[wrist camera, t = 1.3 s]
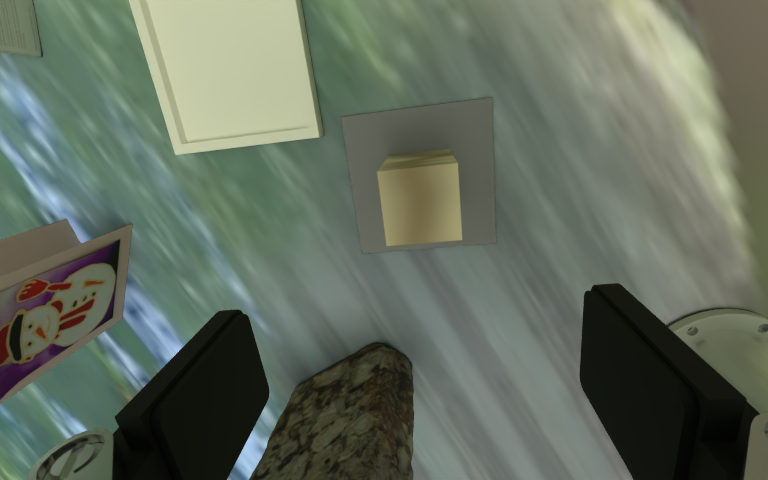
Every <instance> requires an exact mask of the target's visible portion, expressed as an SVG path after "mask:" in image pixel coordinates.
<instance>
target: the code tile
mask: <svg viewBox="0 0 768 480" xmlns="http://www.w3.org/2000/svg"><path fill="white" fill-rule="evenodd" d="M341 121H342V128H343V134H344V141H345V147H346V154H347V160H348V167H349V173H350V180H351V187H352V193H353V200H354V206H355V213H356V219H357V226H358V232H359V239H360V245H361V252H362V254H363V253H376V252H389V251H402V250H415V249H428V248H441V247H453V246H466V245H479V244H492V243H496V217H495V176H494V136H493V97H491V98H483V99H475V100H467V101H460V102H452V103H444V104H437V105H429V106H421V107H414V108H406V109H398V110H391V111H383V112H375V113H368V114H360V115H352V116H345V117H341ZM444 149H450V151H451V152H452V154H453V156H454V157H455V159H456V161H457V162H458V174H459V191H460V209H461V227H462V240H456V241H444V242H431V243H419V244H406V245H394V246H386V238H385V230H384V222H383V214H382V207H381V199H380V191H379V183H378V175H377V171H378V170H379V168H380V167H381V166H382V164H383V163H384V161H385V160H386V159H387V157H388V156H391V155H400V154H409V153H417V152H426V151H435V150H444Z"/></svg>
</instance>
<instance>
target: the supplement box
mask: <svg viewBox="0 0 768 480" xmlns="http://www.w3.org/2000/svg"><path fill="white" fill-rule="evenodd" d="M0 53H9V54H18V55H26V56H35V57H41V54H42V53H41V47H40V40H39V35H38V28H37V23H36V17H35V11H34V5H33V0H0Z"/></svg>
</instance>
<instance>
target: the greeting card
mask: <svg viewBox="0 0 768 480" xmlns="http://www.w3.org/2000/svg"><path fill="white" fill-rule="evenodd" d="M131 233H132V224H130V225H127V226H125V227H122V228H120V229H117V230H115V231H112V232H110V233H107V234H105V235H102V236H100V237H97V238H95V239H92V240H90V241H87V242H85V243H82V244H80V242H79V240H78V238H77V236H76V235H75V233H74V231H73V229H72V227H71V226H70V224H69V222H68V220H67V219H65V220H62V221H59V222H56V223H52V224H49V225H46V226H43V227H40V228H37V229H33V230H30V231H27V232H24V233H21V234H17V235H14V236H11V237H8V238H5V239H2V240H0V404H1V403H3V402H4V401H6V400H7V399H8V398H10V397H11V396H13V395H14V394H16V393H17V392H18V391H20V390H21V389H23V388H24V387H25V386H27V385H28V384H30V383H31V382H33V381H34V380H35V379H37V378H38V377H40V376H41V375H43V374H44V373H45V372H47V371H48V370H50V369H51V368H53V367H54V366H55V365H57V364H58V363H60V362H61V361H62V360H64V359H65V358H67V357H68V356H70V355H71V354H72V353H74V352H75V351H77V350H78V349H80V348H81V347H82V346H84V345H85V344H87V343H88V342H89V341H91V340H92V339H94V338H95V337H97V336H98V335H99V334H101V333H102V332H104V331H105V330H107V329H108V328H109V327H111V326H112V325H114V324H115V323H117V322H118V321H119V320H121V319H122V317H123V307H124V298H125V289H126V279H127V270H128V261H129V251H130V242H131Z"/></svg>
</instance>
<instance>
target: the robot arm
mask: <svg viewBox="0 0 768 480" xmlns="http://www.w3.org/2000/svg"><path fill="white" fill-rule="evenodd" d="M580 382H581V386H582V388H583V391H584V392H585V394H586V396H587V398H588V399H589V401H590V403H591V405H592V406H593V408H594V410H595V412H596V414H597V415H598V417H599V419H600V421H601V422H602V424H603V426H604V428H605V429H606V431H607V433H608V435H609V436H610V438H611V440H612V442H613V443H614V445H615V447H616V449H617V451H618V452H619V454H620V456H621V458H622V459H623V461H624V463H625V465H626V466H627V468H628V470H629V472H630V473H631V475H632V477H633V479H634V480H768V319H767V318H765V317H763V316H762V315H760V314H757V313H753V312H750V311H746V310H738V309H716V310H710V311H705V312H700V313H697V314H694V315H692V316H689V317H686V318H684V319H682V320H680V321H678V322H676V323H674V324H672V325H671V326H669V327H667V326H666V325H665V324H664V323H663V322H661V321H660V320H659V319H658V318H657V317H656V316H655V315H654V314H653V313H652V312H650V311H649V310H648V309H647V308H646V307H645V306H644V305H643V304H642V303H640V302H639V301H638V300H637V299H636V298H635V297H634V296H633V295H632V294H630V293H629V292H628V291H627V290H626V289H625V288H624V287H623V286H622V285H620V284H619V283H616V284H601V285H594V286H592V289H591V291H586V292H585V295H584V308H583V326H582V343H581V361H580ZM268 398H269V386H268V383H267V379H266V376H265V372H264V369H263V365H262V362H261V358H260V355H259V351H258V348H257V344H256V341H255V338H254V334H253V331H252V327H251V324H250V320H249V317H248V316H247V315H246V314H243V313H242V311H241V310H225V311H219V312H217V313H216V314H215V315H214V316H213V317H212V318H211V319H210V320H209V321H208V322H207V323H206V324H205V325H204V326H203V327H202V328H201V329H200V331H199V332H198V333H197V334H196V335H195V336H194V337H193V338H192V339H191V340H190V341H189V342H188V343H187V344H186V345H185V346H184V347H183V348H182V349H181V350H180V351H179V352H178V353H177V354H176V355H175V356H174V357H173V358H172V359H171V360H170V361H169V362H168V363H167V364H166V365H165V366H164V367H163V368H162V369H161V370H160V371H159V372H158V373H157V374H156V375H155V376H154V377H153V379H152V380H151V381H150V382H149V383H148V384H147V385H146V386H145V387H144V388H143V389H142V390H141V391H140V392H139V393H138V394H137V395H136V396H135V397H134V398H133V399H132V400H131V401H130V402H129V403H128V404H127V405H126V406H125V407H124V408H123V409H122V410H121V411H120V412H119V413H118V414H117V415H116V416H115V419H116V421H117V423H118V425H119V428H118V429H117V430H116V431H115V432H114V433H113V434H112V432H111V431H109V430H108V429H100V428H98V429H93V430H88V431H85V432H82V433H80V434H77V435H75V436H73V437H71V438H69V439H67V440H65V441H63V442H61V443H60V444H58V445H57V446H56V447H54V448H53V449H51V450H50V451H49V452H47V453H46V454H45V455H44V456H43V457H42V458H40V459H39V460H38V461H37V463H36V464H35V465H34V466H33V467H32V468H31V470H30V472H29V474H28V476H27V478H26V480H227V478H228V476H229V474H230V472H231V470H232V469H233V467H234V465H235V463H236V461H237V459H238V457H239V455H240V453H241V451H242V449H243V447H244V445H245V443H246V441H247V440H248V438H249V436H250V434H251V432H252V430H253V428H254V426H255V424H256V422H257V420H258V418H259V416H260V414H261V413H262V411H263V409H264V407H265V405H266V403H267V401H268Z"/></svg>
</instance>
